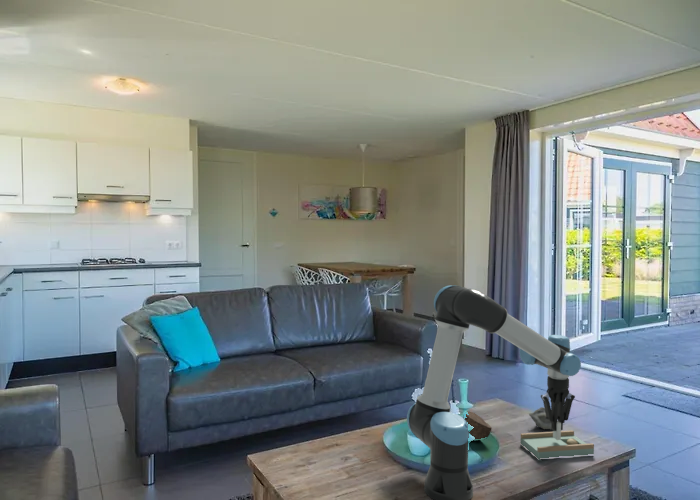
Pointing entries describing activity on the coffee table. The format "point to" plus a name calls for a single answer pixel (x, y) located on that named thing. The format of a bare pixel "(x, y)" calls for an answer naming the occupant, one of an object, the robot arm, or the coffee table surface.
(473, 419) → the rock
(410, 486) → the coffee table surface
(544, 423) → the fossil
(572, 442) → the ball
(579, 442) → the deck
